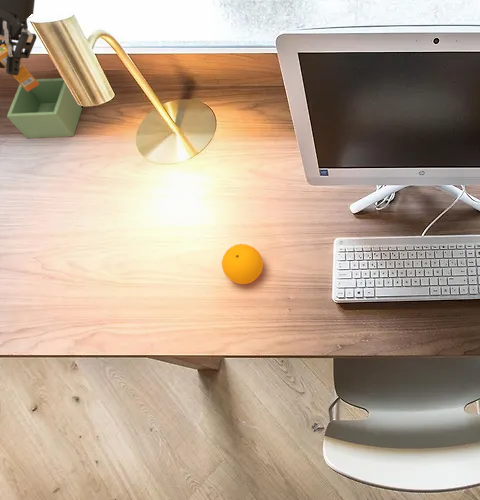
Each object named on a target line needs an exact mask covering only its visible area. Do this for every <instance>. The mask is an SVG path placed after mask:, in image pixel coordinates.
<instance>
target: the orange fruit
mask: <svg viewBox="0 0 480 500" xmlns="http://www.w3.org/2000/svg"><path fill="white" fill-rule="evenodd" d="M263 267H264V261H263V257H262V255H261V253H260V252H259V250H257V249H256V248H255V247H254V246H251V245H249V244H245V243H240V244H234V245H232V246H231V247H230V248H228V249H227V250H226V251H225V253H224V254H223V256H222V260H221V269H222V271H223V273H224V275H225V277H226V278H227V279H229V280H230V281H231V282H233V283H235V284H238V285H247V284H250V283H252V282H254V281H255V280H257V279H258V278H259V277H260V275H261V273H262V272H263Z"/></svg>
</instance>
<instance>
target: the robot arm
mask: <svg viewBox="0 0 480 500" xmlns="http://www.w3.org/2000/svg"><path fill="white" fill-rule="evenodd" d="M35 1H36V0H0V46H1V45H2V44H4V45H5V46H6V47H7V48H8V55H9V56H7V67H6V68H5V67H4V65H3V64H2V63H1V62H0V69H5V72H6V74H8V75H9V76H13V75H18V73H19V67H20V62H21V59H29V58H30V56H31V53H32V50H33V48H34V45H35V43H36V41H37V39H38V38H37V34H35V33H33V32H31V31H30V30H29V26H28V19H29V18H30V17H29V16H30V15H31V14H33V15H34V11H35Z"/></svg>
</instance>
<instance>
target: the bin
mask: <svg viewBox="0 0 480 500" xmlns="http://www.w3.org/2000/svg"><path fill="white" fill-rule="evenodd" d="M62 78H63V77H58V78H55V77H54V78H38V79H37V78H35V79H36V81H37V82H38V83H39V85H38V86H36V87H35V88H33V89H32V90H30V91H29V92H27V91H26V90H25V89H24V88H23V87H22V86H21V84H20V83H18V84H19V85H18V87H17V90H16V91H15V92H16V93H15V94H14V97H13V100H12V102H11V104H10V107H9V110H8V112H7V115H6V118H8V119H9V121H10V122H11V123H12V124H13V125H14V126H15V127H16V128H17V129H18V131H20V133H22V135H24V137H26V139H40V138H62V137H63V138H64V137H74V136H75V133H76V131H77V128H78V127H77V126H78V124H79V120H80V117H81V114H82V111H83V108H81V106H79V105H78V104H77V103H76V101H75V100H74V98H73V96H72V94H71V93H70V91H69V89H68V87H67V86H66V84H65V82H64V81H63V79H62Z"/></svg>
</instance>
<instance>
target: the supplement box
mask: <svg viewBox="0 0 480 500" xmlns="http://www.w3.org/2000/svg"><path fill="white" fill-rule="evenodd" d="M7 56H9V55H8V48H7V47H6V46H5V45H4V44H2V45H1V46H0V62H1V63H2V64H3V65H4V67H5V68H4V69H6V67H7ZM12 77H13V78H14V79H15V80H16V81H17V83H18V84H21V86H22V87H23V88H24V89H25V90H26V91H27V92H29V91H30V90H32V89H33V88H35V87H36V86H38V85H39V83H38V82H37V81H36V79H37V78H35V77H34V76H33V75H32V74H31V72H30V71H29V70H28V69H27V68H26V66H24V64H23V63H22V62H21V61H20V67H19V73H18V75H12Z"/></svg>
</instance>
